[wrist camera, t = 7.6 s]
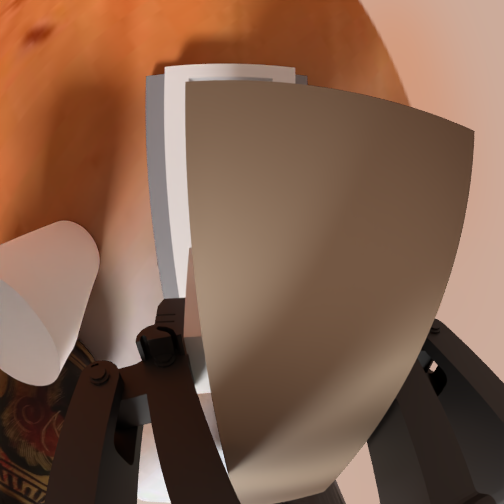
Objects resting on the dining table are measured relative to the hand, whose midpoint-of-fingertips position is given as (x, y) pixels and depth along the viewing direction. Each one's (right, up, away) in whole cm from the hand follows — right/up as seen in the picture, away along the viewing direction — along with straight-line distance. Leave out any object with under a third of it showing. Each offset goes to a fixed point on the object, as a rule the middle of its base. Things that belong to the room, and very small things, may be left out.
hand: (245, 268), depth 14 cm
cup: (-16, +1, +7) cm, 18 cm away
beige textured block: (0, +1, +1) cm, 1 cm away
